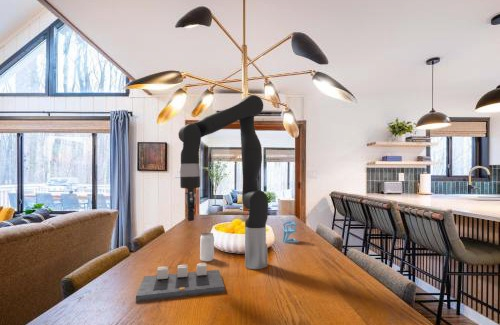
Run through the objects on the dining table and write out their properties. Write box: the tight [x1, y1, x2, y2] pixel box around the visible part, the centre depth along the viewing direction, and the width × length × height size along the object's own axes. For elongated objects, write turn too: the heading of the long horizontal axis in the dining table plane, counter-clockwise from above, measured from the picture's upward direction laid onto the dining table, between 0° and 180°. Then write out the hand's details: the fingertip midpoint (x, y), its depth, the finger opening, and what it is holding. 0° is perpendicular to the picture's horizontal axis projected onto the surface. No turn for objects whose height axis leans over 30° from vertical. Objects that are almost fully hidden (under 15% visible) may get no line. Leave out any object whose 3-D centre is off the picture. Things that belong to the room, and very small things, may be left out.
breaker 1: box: [156, 265, 169, 279], centre depth 94 cm, size 4×2×4 cm, turn 104°
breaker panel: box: [135, 269, 225, 303], centre depth 91 cm, size 28×16×2 cm, turn 104°
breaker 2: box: [196, 262, 208, 276], centre depth 97 cm, size 4×2×4 cm, turn 104°
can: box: [199, 232, 215, 263], centre depth 121 cm, size 6×6×12 cm
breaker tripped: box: [176, 264, 189, 277], centre depth 95 cm, size 4×2×4 cm, turn 104°
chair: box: [282, 221, 300, 244], centre depth 154 cm, size 8×8×12 cm
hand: (190, 220), depth 99 cm, fingers closed
